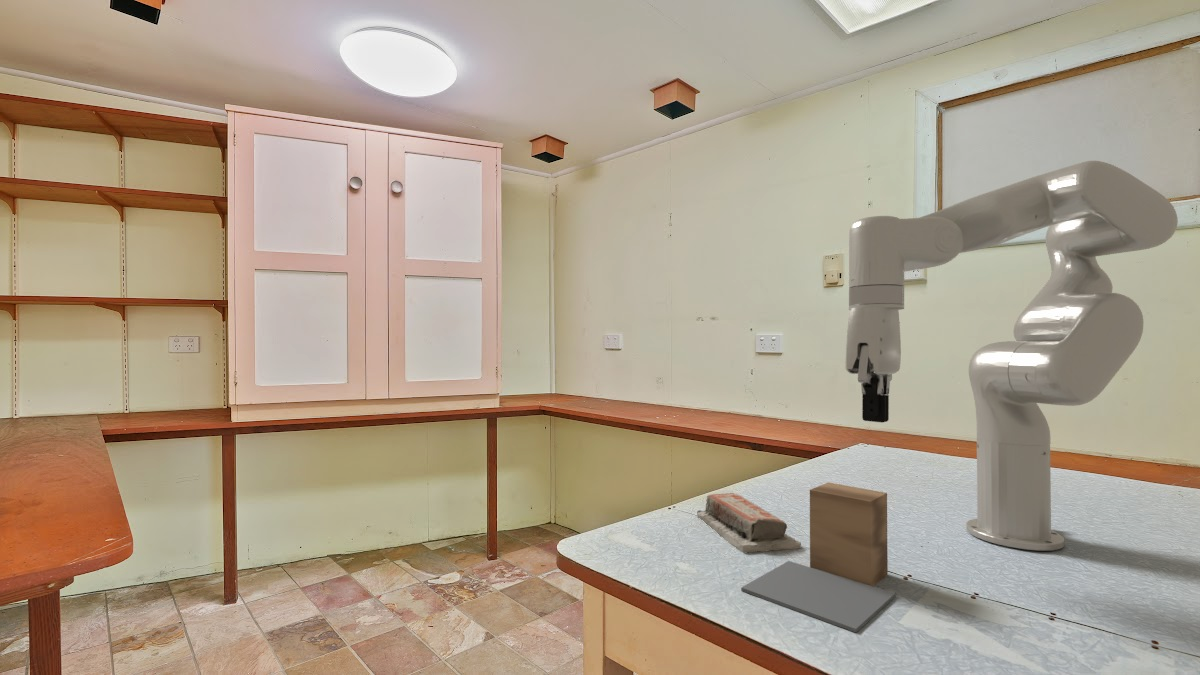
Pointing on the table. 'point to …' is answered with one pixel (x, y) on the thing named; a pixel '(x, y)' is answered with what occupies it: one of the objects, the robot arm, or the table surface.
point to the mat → (821, 595)
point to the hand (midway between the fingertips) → (875, 420)
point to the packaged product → (745, 524)
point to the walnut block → (849, 532)
